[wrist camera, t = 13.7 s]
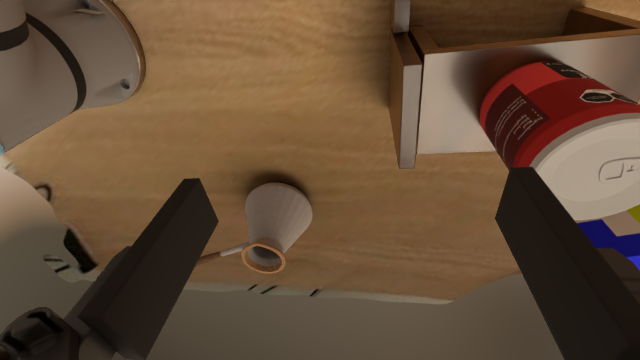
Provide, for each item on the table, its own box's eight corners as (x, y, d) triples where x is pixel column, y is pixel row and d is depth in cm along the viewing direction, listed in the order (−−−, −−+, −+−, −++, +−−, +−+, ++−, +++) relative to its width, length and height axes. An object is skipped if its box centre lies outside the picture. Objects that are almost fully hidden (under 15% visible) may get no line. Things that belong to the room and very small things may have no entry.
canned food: (588, 111, 27) (697, 189, 18) (494, 154, 30) (547, 237, 22) (564, 36, 23) (684, 88, 15) (463, 94, 27) (510, 163, 18)
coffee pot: (307, 171, 48) (289, 243, 37) (320, 222, 55) (308, 296, 43) (188, 181, 53) (138, 248, 41) (214, 227, 59) (176, 296, 47)
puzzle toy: (562, 208, 47) (602, 260, 39) (642, 193, 44) (703, 247, 36) (560, 249, 53) (595, 302, 45) (631, 238, 49) (683, 293, 41)
